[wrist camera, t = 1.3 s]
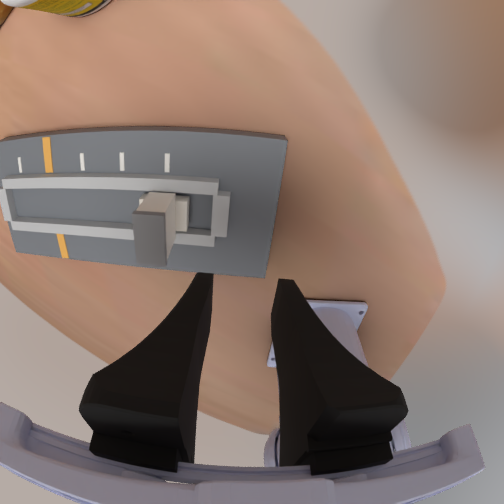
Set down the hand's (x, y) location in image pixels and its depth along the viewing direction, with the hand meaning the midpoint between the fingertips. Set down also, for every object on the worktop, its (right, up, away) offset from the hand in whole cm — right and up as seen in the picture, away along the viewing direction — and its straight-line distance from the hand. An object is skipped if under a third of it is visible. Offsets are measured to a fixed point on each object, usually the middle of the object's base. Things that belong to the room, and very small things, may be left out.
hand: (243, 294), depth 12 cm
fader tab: (-5, +5, +6) cm, 9 cm away
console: (-9, +6, +7) cm, 13 cm away
